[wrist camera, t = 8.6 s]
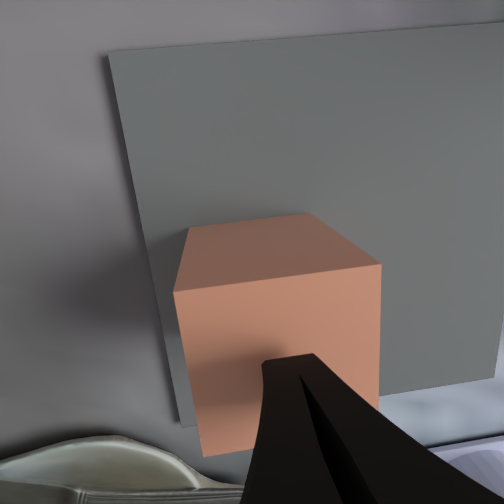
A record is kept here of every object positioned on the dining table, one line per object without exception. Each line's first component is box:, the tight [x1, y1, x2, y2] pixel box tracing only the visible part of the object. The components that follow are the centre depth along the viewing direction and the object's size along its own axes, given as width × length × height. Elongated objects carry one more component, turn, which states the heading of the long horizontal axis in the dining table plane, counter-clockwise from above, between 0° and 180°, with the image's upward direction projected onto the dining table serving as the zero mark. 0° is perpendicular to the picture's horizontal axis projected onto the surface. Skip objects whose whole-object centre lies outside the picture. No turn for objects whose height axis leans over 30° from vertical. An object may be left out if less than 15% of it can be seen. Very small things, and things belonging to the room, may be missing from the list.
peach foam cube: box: [173, 213, 382, 457], centre depth 12 cm, size 5×5×7 cm
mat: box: [108, 22, 504, 428], centre depth 16 cm, size 17×17×1 cm
